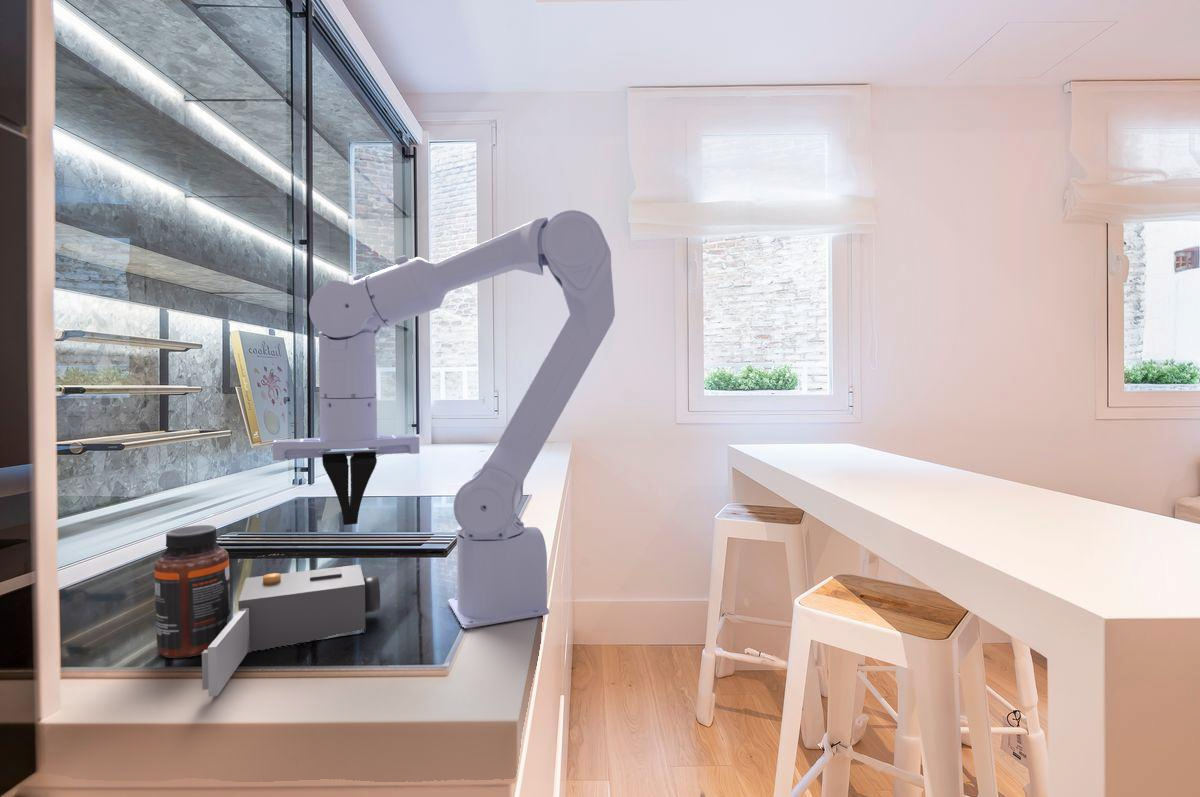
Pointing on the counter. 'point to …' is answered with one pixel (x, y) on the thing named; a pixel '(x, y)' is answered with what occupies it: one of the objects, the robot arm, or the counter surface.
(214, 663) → the side door
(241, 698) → the counter surface
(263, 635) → the block
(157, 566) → the supplement bottle
